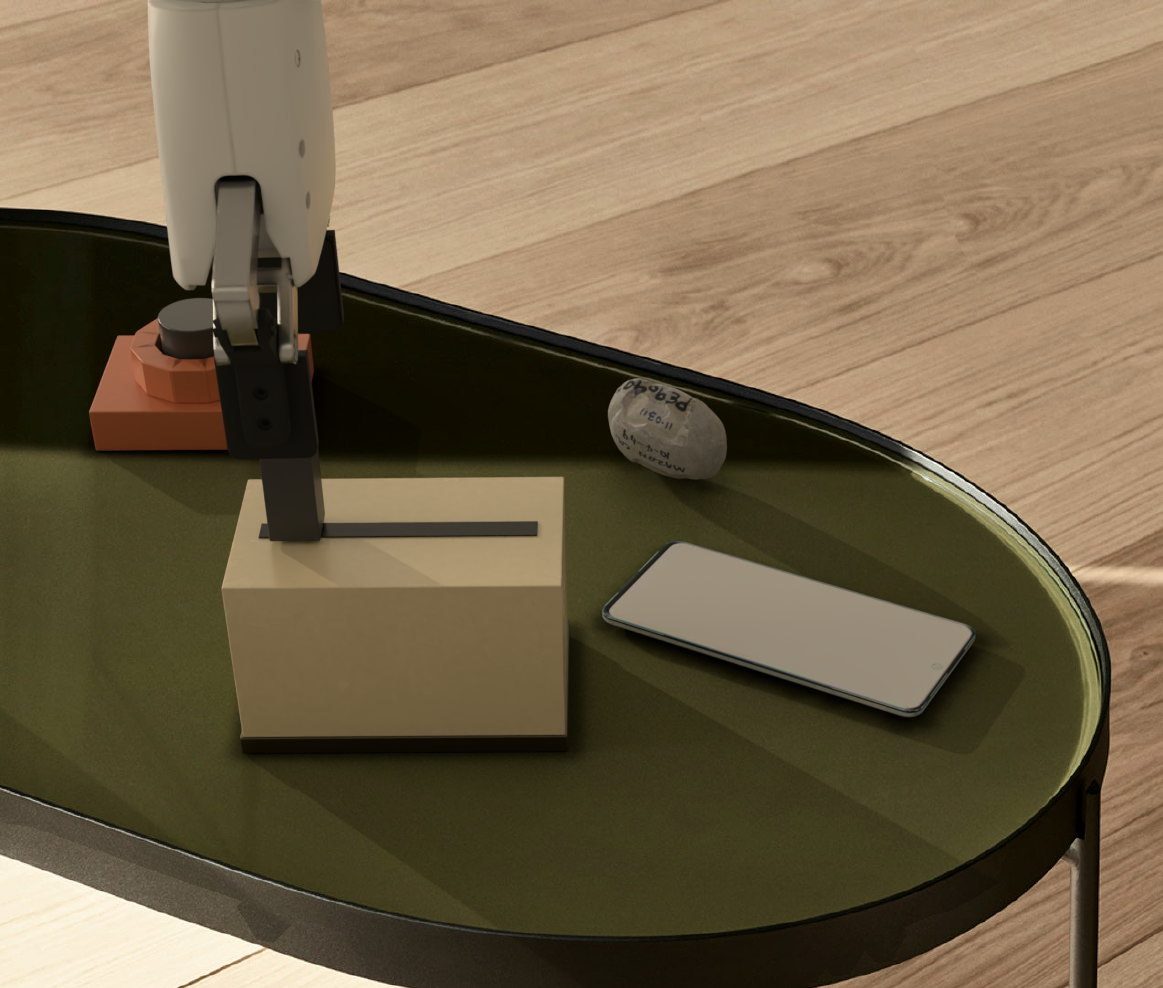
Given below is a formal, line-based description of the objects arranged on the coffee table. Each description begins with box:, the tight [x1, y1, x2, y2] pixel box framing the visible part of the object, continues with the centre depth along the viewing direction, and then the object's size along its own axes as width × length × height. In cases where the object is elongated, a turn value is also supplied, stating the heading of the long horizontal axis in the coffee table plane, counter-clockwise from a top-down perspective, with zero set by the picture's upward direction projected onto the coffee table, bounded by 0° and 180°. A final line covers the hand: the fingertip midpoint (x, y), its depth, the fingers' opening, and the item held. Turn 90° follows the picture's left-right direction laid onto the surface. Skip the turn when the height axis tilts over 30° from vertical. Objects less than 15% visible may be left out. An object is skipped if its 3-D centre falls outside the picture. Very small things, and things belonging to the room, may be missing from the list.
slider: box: [258, 447, 325, 541], centre depth 82 cm, size 2×2×5 cm
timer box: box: [88, 317, 315, 452], centre depth 106 cm, size 10×8×4 cm
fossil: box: [607, 377, 728, 481], centre depth 100 cm, size 6×3×5 cm, turn 59°
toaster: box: [221, 476, 571, 754], centre depth 86 cm, size 13×8×8 cm, turn 90°
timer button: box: [157, 297, 214, 359], centre depth 104 cm, size 4×4×2 cm
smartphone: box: [601, 540, 977, 718], centre depth 91 cm, size 7×1×15 cm
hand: (289, 388), depth 79 cm, fingers open, 9 cm apart
